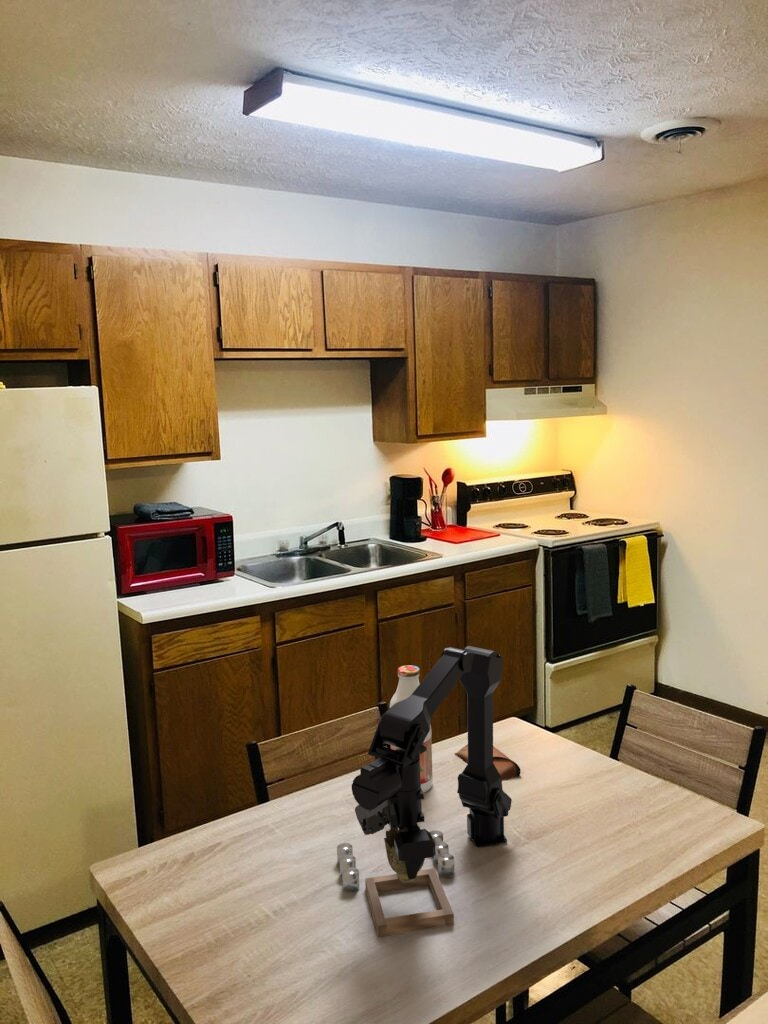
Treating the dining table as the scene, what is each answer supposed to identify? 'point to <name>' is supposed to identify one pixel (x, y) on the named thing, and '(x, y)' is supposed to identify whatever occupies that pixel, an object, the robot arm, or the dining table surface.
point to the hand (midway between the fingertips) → (407, 866)
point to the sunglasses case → (496, 763)
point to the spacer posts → (352, 873)
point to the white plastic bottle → (404, 690)
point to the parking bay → (413, 920)
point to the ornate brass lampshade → (392, 856)
